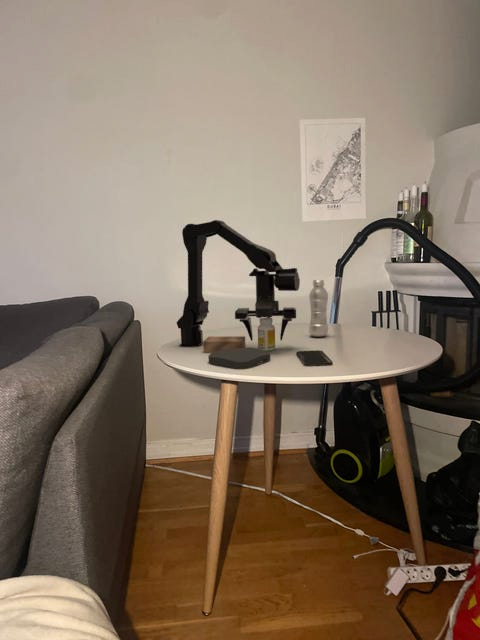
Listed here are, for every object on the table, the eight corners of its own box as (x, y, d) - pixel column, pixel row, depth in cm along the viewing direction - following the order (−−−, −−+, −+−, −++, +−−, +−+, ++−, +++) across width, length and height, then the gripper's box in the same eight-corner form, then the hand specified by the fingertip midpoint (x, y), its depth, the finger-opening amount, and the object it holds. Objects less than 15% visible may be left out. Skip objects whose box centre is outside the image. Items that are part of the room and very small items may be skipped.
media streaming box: (202, 364, 120) (202, 353, 120) (236, 354, 131) (236, 344, 131) (243, 372, 111) (242, 360, 110) (275, 360, 122) (275, 350, 121)
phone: (321, 350, 128) (333, 362, 113) (321, 354, 128) (333, 366, 113) (295, 351, 128) (303, 363, 113) (295, 354, 128) (303, 367, 113)
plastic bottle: (306, 335, 155) (306, 280, 152) (324, 334, 156) (324, 279, 153) (312, 339, 149) (312, 281, 146) (331, 337, 150) (331, 280, 147)
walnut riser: (203, 353, 132) (203, 341, 132) (209, 347, 140) (208, 336, 140) (242, 353, 131) (242, 341, 130) (245, 347, 138) (245, 336, 138)
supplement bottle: (275, 347, 137) (274, 317, 136) (275, 350, 132) (274, 319, 131) (258, 347, 138) (257, 317, 137) (257, 351, 133) (256, 320, 131)
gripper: (231, 293, 126) (233, 346, 128) (295, 292, 123) (296, 345, 126) (236, 290, 137) (238, 338, 139) (295, 289, 134) (296, 338, 136)
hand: (266, 340), depth 135 cm, fingers open, 9 cm apart
